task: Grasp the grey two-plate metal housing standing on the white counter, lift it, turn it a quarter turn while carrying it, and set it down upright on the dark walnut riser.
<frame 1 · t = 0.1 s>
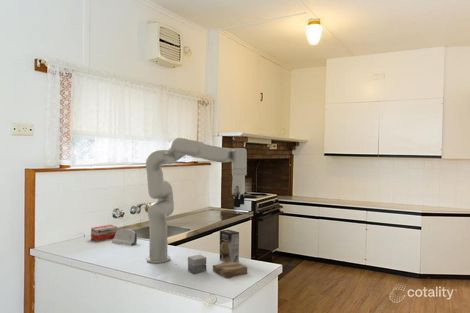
hand: (239, 205, 180), 31 cm above the counter, tool pointing down, fingers open, 9 cm apart
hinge: (125, 243, 228), on the counter
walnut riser: (230, 272, 171), on the counter
coffee box: (229, 261, 189), on the counter
metal housing: (197, 271, 173), on the counter
medicine box: (104, 238, 240), on the counter
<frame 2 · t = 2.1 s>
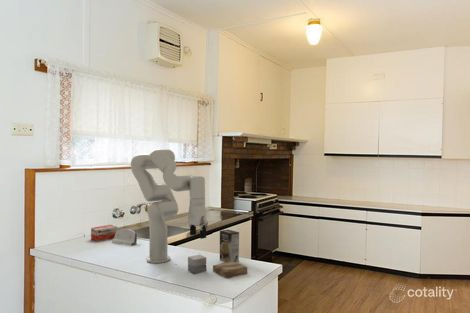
hand: (198, 236, 173), 17 cm above the counter, tool pointing down, fingers open, 9 cm apart
nothing on the counter moved.
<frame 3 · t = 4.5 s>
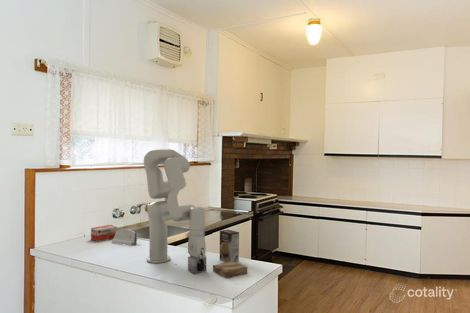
hand: (197, 268, 173), 1 cm above the counter, tool pointing down, fingers closed on metal housing, 6 cm apart
metal housing: (197, 271, 173), on the counter, touching gripper
everything else where it was.
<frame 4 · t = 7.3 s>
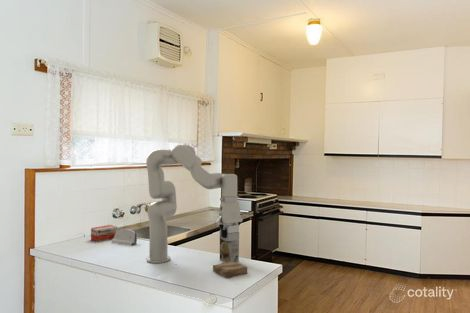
hand: (229, 236, 171), 18 cm above the counter, tool pointing down, fingers closed on metal housing, 6 cm apart
metal housing: (229, 238, 171), point 16 cm above the counter, touching gripper
everything else where it was.
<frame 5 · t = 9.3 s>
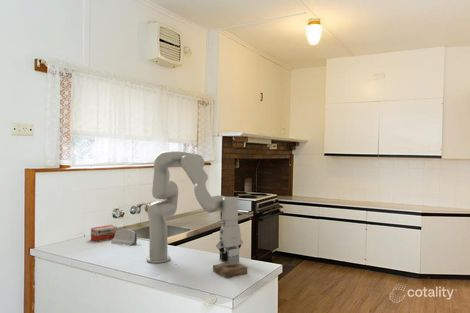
hand: (229, 259, 171), 6 cm above the counter, tool pointing down, fingers closed on metal housing, 6 cm apart
metal housing: (230, 261, 171), point 5 cm above the counter, touching gripper
everything else where it was.
when the fingers open (5 cm above the counter, at t = 10.5 s): metal housing stays where it is, resting on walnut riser.
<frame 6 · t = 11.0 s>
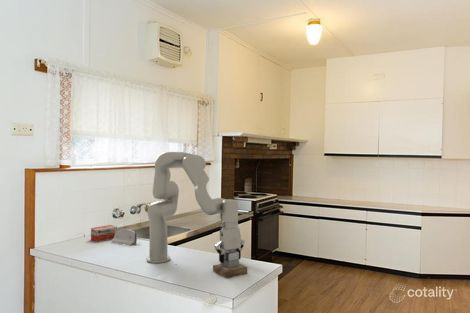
hand: (230, 260, 171), 6 cm above the counter, tool pointing down, fingers open, 9 cm apart
metal housing: (229, 265, 171), point 3 cm above the counter, touching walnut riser
everything else where it was.
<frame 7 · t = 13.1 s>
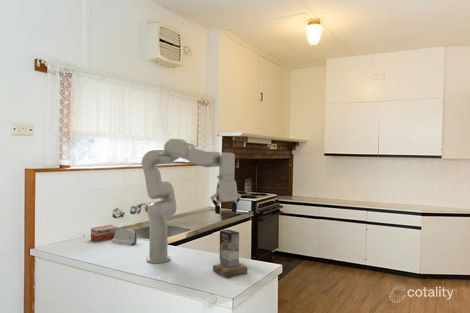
hand: (225, 212, 173), 29 cm above the counter, tool pointing down, fingers open, 9 cm apart
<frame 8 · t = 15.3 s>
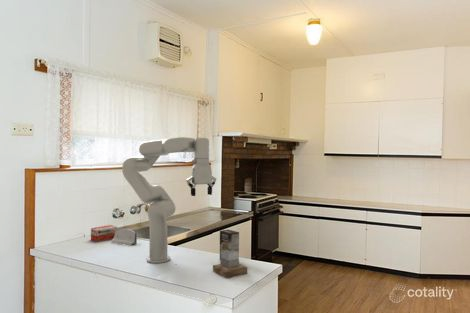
hand: (201, 195, 181), 36 cm above the counter, tool pointing down, fingers open, 9 cm apart
at the end: metal housing inside the target area on the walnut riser (0.2 cm from its centre), point 3.2 cm above the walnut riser's base; metal housing tilted 0°; the gripper is holding nothing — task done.
